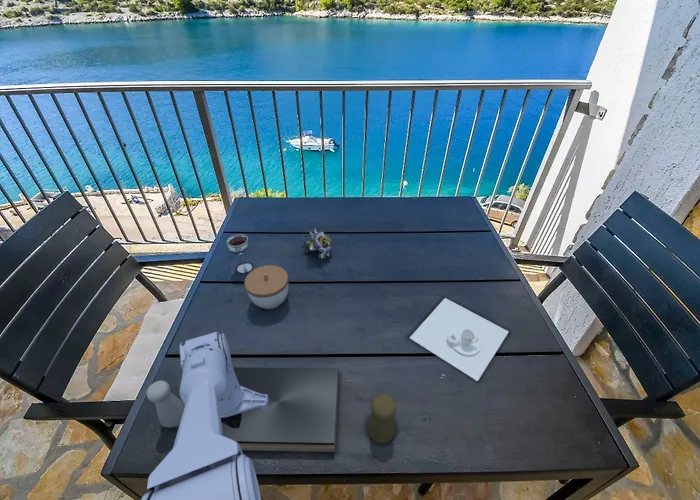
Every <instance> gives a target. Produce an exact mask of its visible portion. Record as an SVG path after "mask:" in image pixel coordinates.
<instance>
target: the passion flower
mask: <svg viewBox="0 0 700 500" xmlns="http://www.w3.org/2000/svg"><path fill="white" fill-rule="evenodd" d="M309 235H310V239H309V240H308V241H307V240H306V239H305V238H307V235H306V234H305V233H303V234H302V238H303V240H304V243H303V245H302V246H301V249H303V248H304V247H305V248H306V253H308V252H315V251H318V252H319V253H318V259H319V260H323V259H324V260H326V257H327V258H330V252H331V249H332V240H331V238H330V237H329V234H328V233H325V232H324V231H319V232H318V231H317V228H314V229H313V232H312V231H309Z"/></svg>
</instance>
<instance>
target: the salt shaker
mask: <svg viewBox="0 0 700 500" xmlns="http://www.w3.org/2000/svg"><path fill="white" fill-rule="evenodd" d="M146 398H147V399H148V400H149V402H151V403H153V404H154V406H155V410H156V414H157V419H158V422H159V423H160V425H161V426H162V427H165V428H167V429H168V428H169V429H170V428H179V425H180V422H181V418H182V415H183V411H184V408H185V404H184V402H183V401H182V399H181V398H179V397H177V396H176V395H175V394H174V393H172V392H171V385H170V384H169V383H168V382H167V381H166V380H157V381H155V382H153V383H151V385H150V386H148V388H147V390H146Z"/></svg>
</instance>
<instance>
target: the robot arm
mask: <svg viewBox="0 0 700 500" xmlns="http://www.w3.org/2000/svg"><path fill="white" fill-rule="evenodd" d="M179 358H180V366H181V369H182V375H181V379H180V380H181V381H180V384H179V397H180V400H181V401H182V402H183V403H184V404H185V408H184V411H183V415H182V418H181V422H180V425H179V426H178V428H177V432H176V436H175V440H174V442H173V443H174V444H173V446H172V449H171V450H170V451H169V452H168V454H166V456H165V457H164V458H163V459H162V460H161V461H160V462H159V464H158V465H157V466H156V467H155V468H154V470H153V471H152V472H151V473H150V474H149V476H148V478H147V485H146V490H149V489H152V488H154V490H150V491H148V492H145V493H144V495H143V496H142V497H141V498H140V500H262V497H261V491H260V486H259V482H258V478H257V477H258V476H257V474H256V469H255V466H254V463H253V460H252V459H251V458H250V457H248V456H246V454H244V453H243V450H241V447H240V445H239V444H238V443H237V442H236V441H234V440H232V439H229V438H227V437H224V436H223V432H222V425H221V422H222V423H224V424H226V425H228V426H229V427H231V428H239V427H240V423H241V420H242V416H241V414H242V412H245V411H248V410H251V409H255V408H258V407H260V408H261V410H267V407H268V403H269V398H268V395H267V394H260V393H257V392H254V391H252V390H249V389H247V388H244V387H242V386H240V385H239V383H238V380H237V377H236V375H235V372H234V366H233V363H232V356H231V351H230V346H229V342H228V340H227V337H226V335H225V333H224V332H222V333H219V331H214V332H211V333H207V334H203V335H201V336H197V337H194V338H191V339H187V340H185V342H180V344H179Z"/></svg>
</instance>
